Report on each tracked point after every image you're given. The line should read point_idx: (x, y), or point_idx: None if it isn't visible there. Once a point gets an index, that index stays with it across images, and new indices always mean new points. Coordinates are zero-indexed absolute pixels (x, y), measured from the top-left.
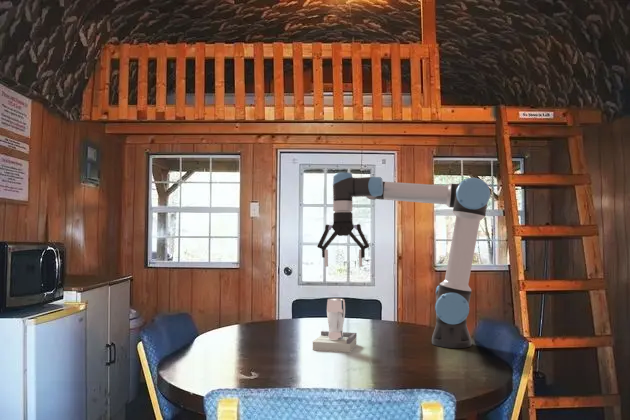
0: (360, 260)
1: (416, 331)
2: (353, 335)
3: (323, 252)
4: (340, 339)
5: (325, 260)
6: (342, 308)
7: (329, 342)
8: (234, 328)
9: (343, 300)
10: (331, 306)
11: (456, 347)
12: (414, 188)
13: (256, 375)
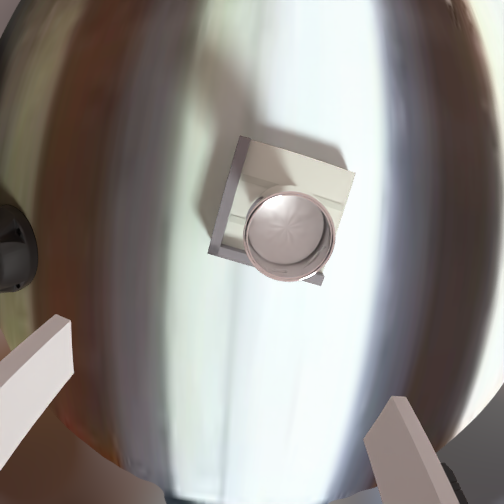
0: (26, 343)
1: (73, 387)
2: (220, 208)
3: (456, 502)
4: (266, 188)
5: (419, 433)
6: (258, 196)
7: (304, 158)
8: (471, 407)
9: (250, 212)
10: (313, 195)
11: (4, 205)
12: None
13: None
